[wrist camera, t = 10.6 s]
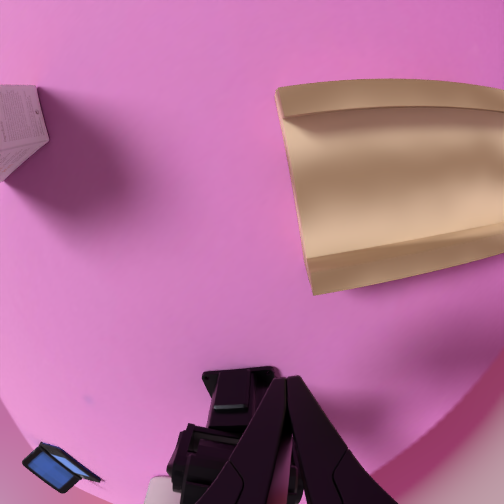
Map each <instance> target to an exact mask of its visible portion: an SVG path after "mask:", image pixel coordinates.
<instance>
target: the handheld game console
mask: <svg viewBox="0 0 504 504" xmlns="http://www.w3.org/2000/svg"><path fill="white" fill-rule="evenodd" d="M22 464H23V465H24V466H25V467H26V468H27V469H29V470H30V471H31V472H32V473H33V474H35V475H36V476H38V477H39V478H40V479H41V480H43V481H44V482H45V483H47V484H48V485H49V486H51V487H52V488H54V489H55V490H57V491H58V492H60V493H66V492H67V491H68V490H69V489H70V488H72V487H73V486H74V485H75V484H76V483H77V482H78V481H79V480H81V479H82V478H84V479H87V480H91V481H95V482H100V481H101V479H100V478H99V477H97V476H96V475H95V474H93V473H92V472H91V471H89V470H88V469H86V468H85V467H84V466H82V465H81V464H80V463H79V462H77V461H76V460H75V459H73V458H72V457H71V456H70V455H68V454H67V453H66V452H65V451H64V450H62V449H61V448H59V447H56V446H53V445H50V444H46V443H43V442H41V443H40V444H39V447H37V448H36V449H35V450H34V451H32V452H31V453H30V454H29V455H28V456H27V457H26V458H25V459H24V460H23V461H22Z"/></svg>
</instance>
